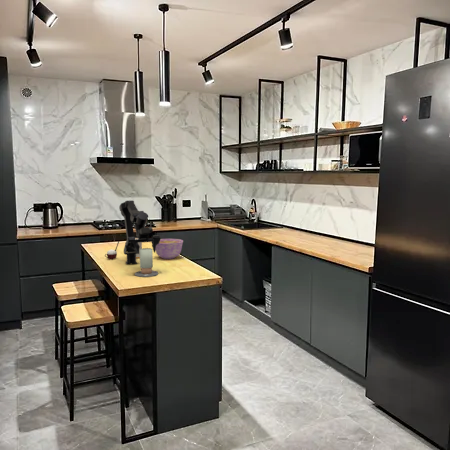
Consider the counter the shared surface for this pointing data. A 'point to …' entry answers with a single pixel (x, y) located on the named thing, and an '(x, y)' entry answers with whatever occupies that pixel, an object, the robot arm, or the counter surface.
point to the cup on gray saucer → (146, 272)
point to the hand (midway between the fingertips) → (146, 252)
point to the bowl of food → (169, 248)
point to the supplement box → (139, 249)
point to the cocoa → (112, 253)
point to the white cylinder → (146, 258)
